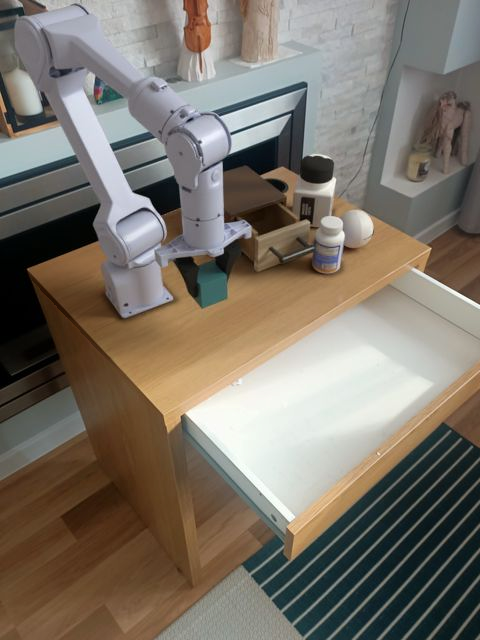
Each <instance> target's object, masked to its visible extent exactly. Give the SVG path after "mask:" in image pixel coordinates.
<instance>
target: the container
mask: <svg viewBox="0 0 480 640" xmlns="http://www.w3.org/2000/svg"><path fill="white" fill-rule="evenodd" d="M299 167H300V168H299V174H298V177H297V179H296V183H295V186H294V189H293V195H292V209H291V212H292V213H294V214H295V215H296V216H297V217H299V222H300V221H303V220H306V219H307V220H308V221H309V222H310V228H317V229H318V228H320V222H321V219H322V218H324V217H326V216H332V213H333V208H334V201H335V192H336V185H337V184H336V183H337V178H336V177H334V171H335V170H334V169H335V162H334V160H333V159H332V158H331V157H329V156H328V155H326V154H322V153H311V154H307V155H305V156H304V157H302V159H301V160H300V165H299Z"/></svg>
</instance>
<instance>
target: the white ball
mask: <svg viewBox="0 0 480 640" xmlns="http://www.w3.org/2000/svg"><path fill="white" fill-rule="evenodd" d="M339 218H340V219H341V220H342V221H343V229H342V231H343V232H344V234H345V239H344V246H345V247H346V248H348V249H349V248H350V249H358V248H361V247H363V246H366V245H367V244H368V242H370V240H371V239H372V238H373V237H372V236H373V235H374V233H375V228H374V223H373V220H372V217H370V215H369V214H367V212H365V211H363V210H360V209H350V210H347V211H346V212H344V213H342V214H341V215H340V217H339ZM344 246H343V247H344Z"/></svg>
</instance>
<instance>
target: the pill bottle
mask: <svg viewBox="0 0 480 640" xmlns="http://www.w3.org/2000/svg"><path fill="white" fill-rule="evenodd" d="M342 229H343V221H342V220H341V219H340V217H337V216H334V215H331V216H326V217H324V218H322V219H321V222H320V228H318V227H317V229H316V231H315V233H314V242H313V246H314V247H315V251H314V252H313V253H312V258H311V259H312V260H311V262H312V263H311V265H312V267H313V269H314V270H315V271H316V272H318V273H321V274H327V275H330V274H334V273H336V272H337V271H339V270H340V268H341V264H342V258H343V253H344V252H343V251H344V239H345V234H344V232H343V231H342Z"/></svg>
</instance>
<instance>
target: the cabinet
mask: <svg viewBox="0 0 480 640" xmlns="http://www.w3.org/2000/svg"><path fill="white" fill-rule="evenodd" d="M287 199H288V196H287V195H285V194H284V193H283V192H281V191H280V190H279V189H278V188H277V187H275V186H274V185H273V184H272V183H270V182H268V180H266V179H265V178H263V177H262V176H261V175H260V174H258V173H257V172H255V170H253V169H252V168H251V167H249V166H247V165H242V166H239V167H236V168H232V169H229V170H226V171H223V202H224V223H233V222H234V217H237V216H240V215H243V214H246V213H249V212H252V211H255V210H258V209H261V208H264V207H267V206H270V205H274V204H277V203H281V204H282V205H283V206H285V207H286V208H287V202H288V201H287Z"/></svg>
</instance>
